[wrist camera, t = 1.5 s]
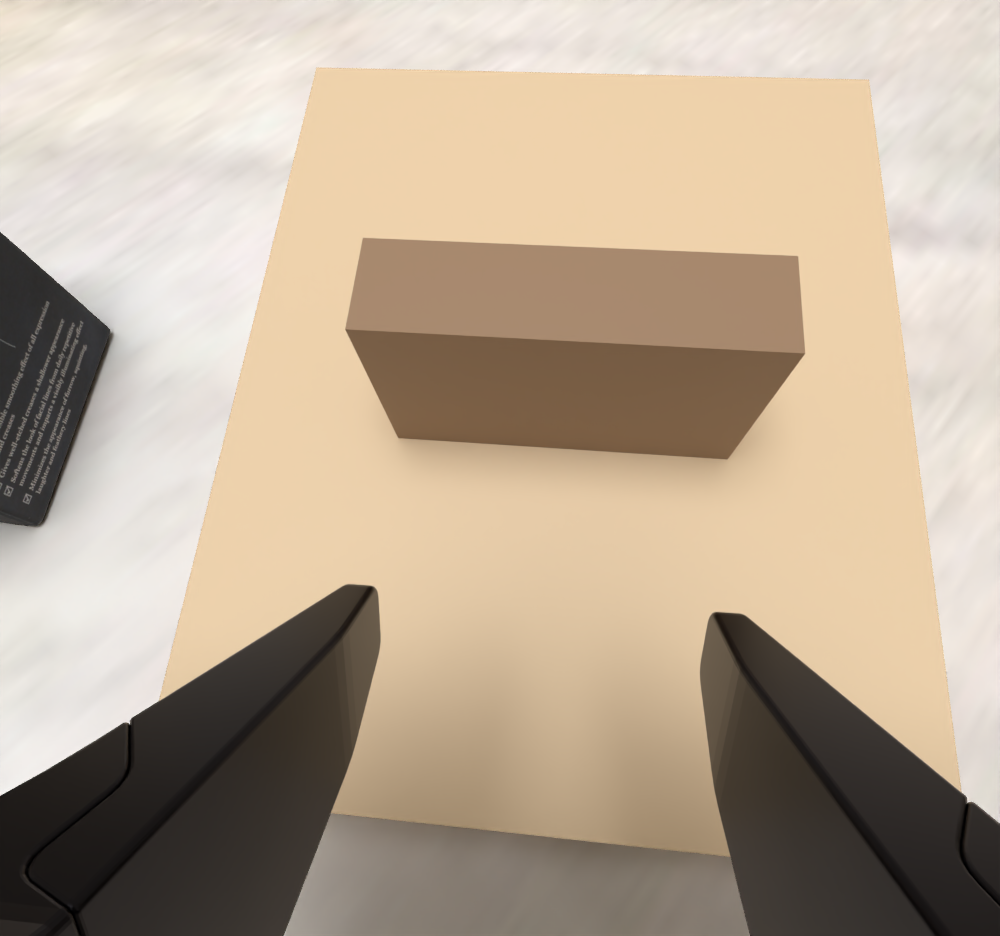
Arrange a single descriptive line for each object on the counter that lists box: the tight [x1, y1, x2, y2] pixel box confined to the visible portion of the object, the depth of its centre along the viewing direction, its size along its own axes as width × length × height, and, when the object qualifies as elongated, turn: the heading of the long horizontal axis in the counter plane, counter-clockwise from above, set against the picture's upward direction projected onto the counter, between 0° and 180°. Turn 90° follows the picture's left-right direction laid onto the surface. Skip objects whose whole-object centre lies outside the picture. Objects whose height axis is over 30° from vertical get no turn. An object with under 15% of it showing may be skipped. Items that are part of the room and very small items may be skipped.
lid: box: [159, 68, 962, 857], centre depth 15 cm, size 21×17×6 cm
